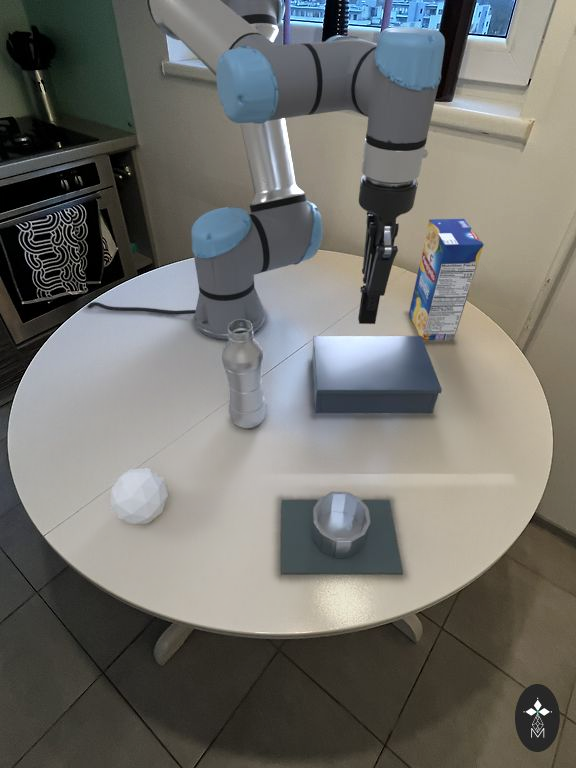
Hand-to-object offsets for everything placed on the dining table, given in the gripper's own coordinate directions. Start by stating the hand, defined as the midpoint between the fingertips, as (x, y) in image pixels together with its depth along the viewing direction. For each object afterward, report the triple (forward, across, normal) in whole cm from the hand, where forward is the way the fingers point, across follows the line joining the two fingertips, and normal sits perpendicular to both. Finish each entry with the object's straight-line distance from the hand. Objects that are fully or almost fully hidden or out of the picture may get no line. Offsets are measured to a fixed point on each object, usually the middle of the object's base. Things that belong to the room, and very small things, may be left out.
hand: (366, 321), depth 76 cm
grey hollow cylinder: (+13, -32, +6) cm, 35 cm away
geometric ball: (+14, -28, +34) cm, 46 cm away
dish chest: (+14, -2, -2) cm, 14 cm away
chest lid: (+8, -2, -2) cm, 8 cm away
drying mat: (+14, -32, +6) cm, 35 cm away
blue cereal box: (+15, +17, -18) cm, 29 cm away
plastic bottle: (+15, -10, +20) cm, 27 cm away
